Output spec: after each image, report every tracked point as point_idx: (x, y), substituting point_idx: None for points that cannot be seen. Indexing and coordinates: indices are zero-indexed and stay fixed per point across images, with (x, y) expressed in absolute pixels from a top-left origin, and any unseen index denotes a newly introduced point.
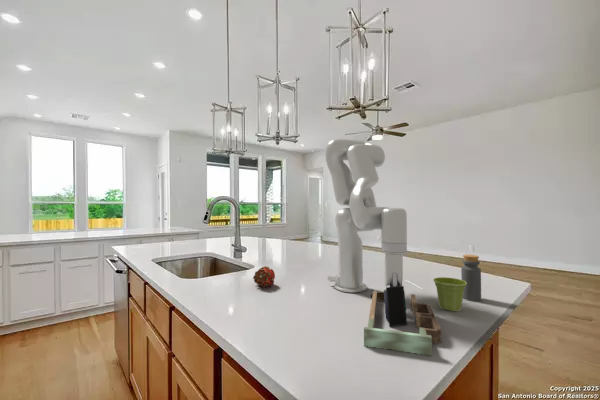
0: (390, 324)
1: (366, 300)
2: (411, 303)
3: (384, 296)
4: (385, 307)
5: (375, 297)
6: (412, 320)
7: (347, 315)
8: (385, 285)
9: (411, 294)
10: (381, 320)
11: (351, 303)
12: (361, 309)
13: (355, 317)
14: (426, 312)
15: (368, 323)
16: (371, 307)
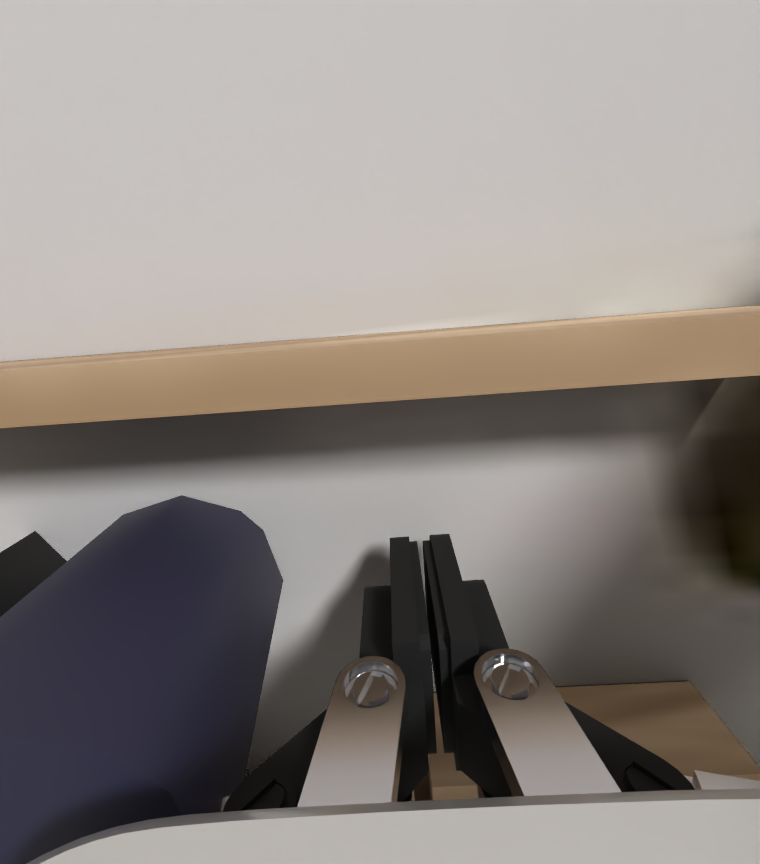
0: (21, 550)
1: (701, 215)
2: (643, 697)
3: (14, 645)
4: (101, 556)
5: (520, 381)
6: (264, 683)
7: (65, 52)
8: (42, 856)
9: (754, 778)
10: (134, 458)
11: (524, 2)
12: (342, 204)
13: (62, 176)
14: (417, 795)
15: None
16: (67, 376)
